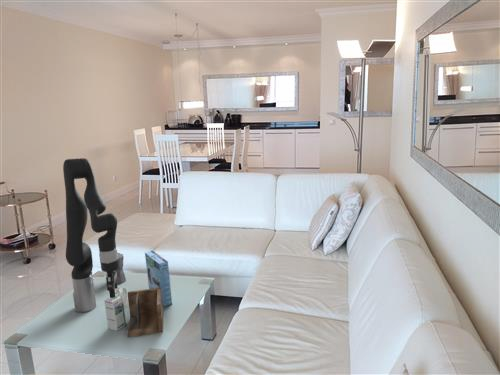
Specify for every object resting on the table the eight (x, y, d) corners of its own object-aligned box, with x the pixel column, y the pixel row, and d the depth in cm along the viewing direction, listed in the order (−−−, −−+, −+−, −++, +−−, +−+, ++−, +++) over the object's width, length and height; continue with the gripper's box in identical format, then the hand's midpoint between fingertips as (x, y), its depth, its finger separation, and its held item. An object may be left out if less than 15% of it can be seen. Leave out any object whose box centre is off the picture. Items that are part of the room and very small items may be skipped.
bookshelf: (127, 337, 171) (124, 308, 168) (130, 317, 187) (127, 291, 184) (162, 332, 174) (160, 304, 171) (163, 313, 190) (160, 287, 187)
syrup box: (116, 331, 176) (113, 301, 173) (107, 328, 179) (103, 298, 176) (126, 325, 181) (123, 296, 178) (117, 321, 184) (113, 293, 180)
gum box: (172, 304, 198) (168, 261, 193) (162, 307, 195) (158, 264, 190) (157, 289, 214) (153, 250, 209) (148, 292, 211) (144, 252, 206)
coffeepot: (113, 276, 232) (110, 247, 228) (129, 275, 232) (126, 246, 228) (104, 288, 217) (100, 258, 213) (121, 288, 217) (118, 257, 213)
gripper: (102, 254, 179) (107, 286, 182) (97, 266, 165) (102, 301, 169) (119, 251, 180) (123, 284, 184) (116, 263, 167) (121, 299, 170)
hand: (113, 292), depth 176 cm, fingers open, 8 cm apart
